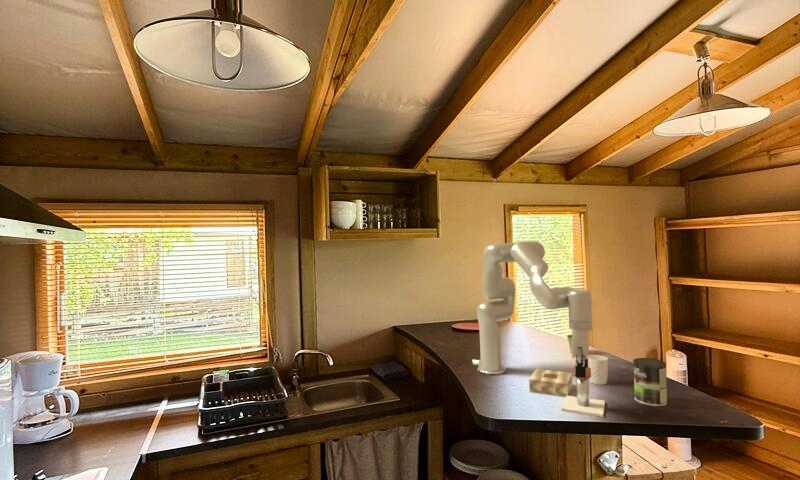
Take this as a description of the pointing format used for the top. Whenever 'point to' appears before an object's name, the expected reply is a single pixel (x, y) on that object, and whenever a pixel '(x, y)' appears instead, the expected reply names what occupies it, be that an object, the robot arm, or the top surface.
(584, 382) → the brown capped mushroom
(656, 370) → the coffee can
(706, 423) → the top surface
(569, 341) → the plant pot
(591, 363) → the white cup
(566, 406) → the pad
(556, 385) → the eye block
